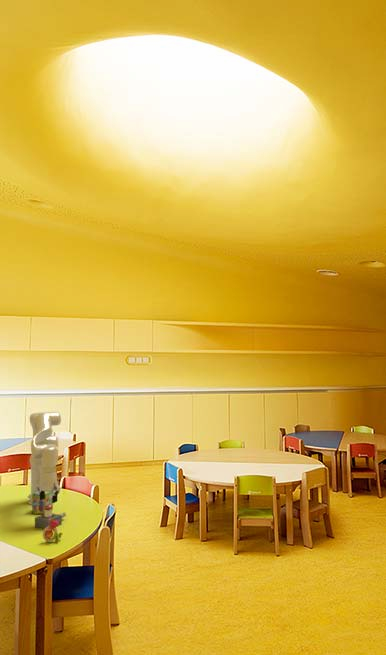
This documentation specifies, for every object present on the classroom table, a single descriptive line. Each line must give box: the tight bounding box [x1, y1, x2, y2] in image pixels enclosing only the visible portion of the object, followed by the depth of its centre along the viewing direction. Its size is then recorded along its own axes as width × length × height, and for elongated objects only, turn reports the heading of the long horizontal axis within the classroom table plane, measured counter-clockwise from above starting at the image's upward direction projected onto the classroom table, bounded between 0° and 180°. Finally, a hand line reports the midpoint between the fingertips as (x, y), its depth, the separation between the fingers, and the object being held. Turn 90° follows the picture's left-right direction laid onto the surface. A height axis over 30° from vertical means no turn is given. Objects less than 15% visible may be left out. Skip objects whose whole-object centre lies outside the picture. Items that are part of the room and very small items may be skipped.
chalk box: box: [31, 491, 54, 515], centre depth 273 cm, size 9×9×15 cm
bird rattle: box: [42, 520, 63, 544], centre depth 225 cm, size 6×11×9 cm
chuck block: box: [34, 512, 67, 530], centre depth 251 cm, size 10×17×5 cm, turn 151°
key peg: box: [44, 504, 54, 518], centre depth 249 cm, size 5×5×11 cm
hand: (48, 500), depth 250 cm, fingers open, 9 cm apart
